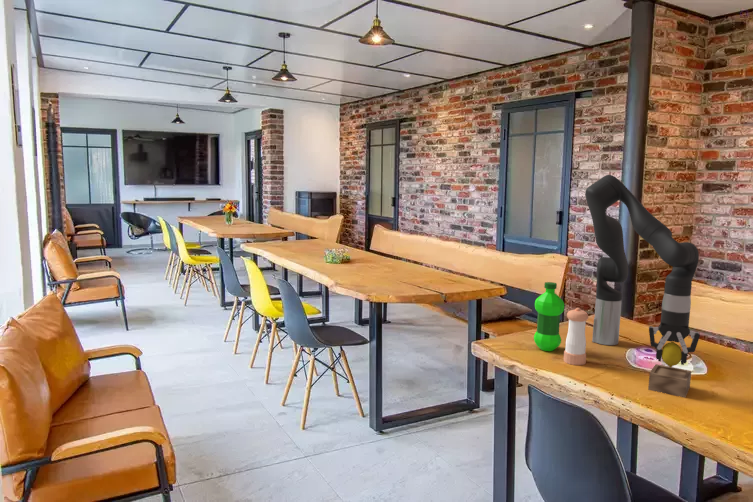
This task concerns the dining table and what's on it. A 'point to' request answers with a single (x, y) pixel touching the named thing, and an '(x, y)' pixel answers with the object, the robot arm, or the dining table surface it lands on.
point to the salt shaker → (576, 338)
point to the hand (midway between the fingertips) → (670, 362)
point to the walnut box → (669, 380)
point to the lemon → (671, 354)
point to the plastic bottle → (548, 318)
